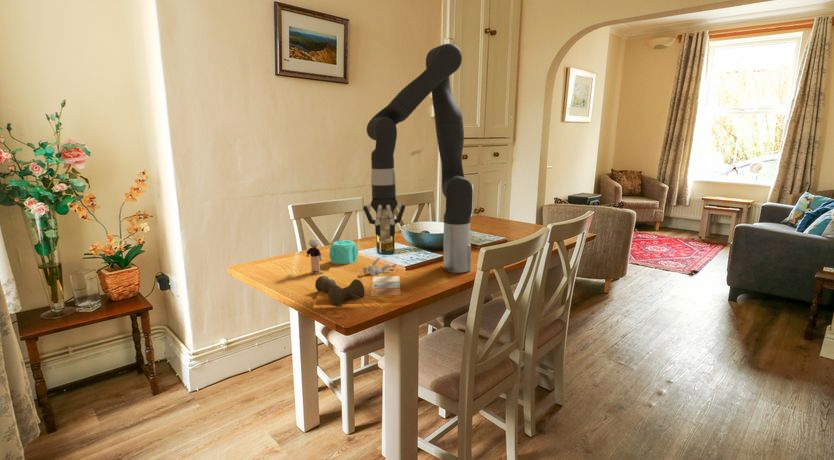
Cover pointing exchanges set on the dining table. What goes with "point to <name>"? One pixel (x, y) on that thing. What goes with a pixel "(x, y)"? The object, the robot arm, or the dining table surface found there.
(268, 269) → the dining table surface
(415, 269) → the dining table surface
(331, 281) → the kendama
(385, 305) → the dining table surface
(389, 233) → the pawn
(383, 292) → the board
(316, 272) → the grandmother figurine
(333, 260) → the decorative dice
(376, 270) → the soldier figure
